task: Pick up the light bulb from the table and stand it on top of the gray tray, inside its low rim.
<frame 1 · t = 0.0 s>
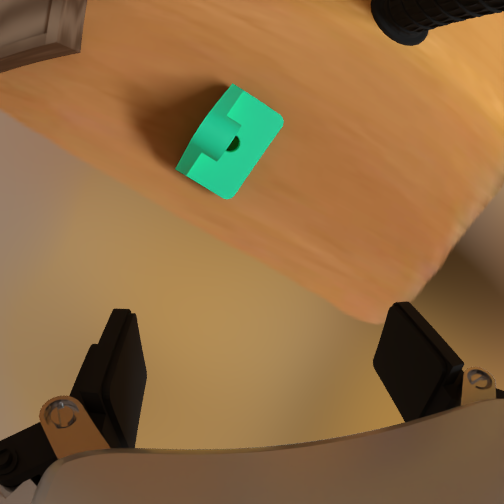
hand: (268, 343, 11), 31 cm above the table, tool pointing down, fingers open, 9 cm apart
handle grip: (400, 15, 32), on the table
camera mount: (229, 141, 38), on the table
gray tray: (42, 17, 27), on the table
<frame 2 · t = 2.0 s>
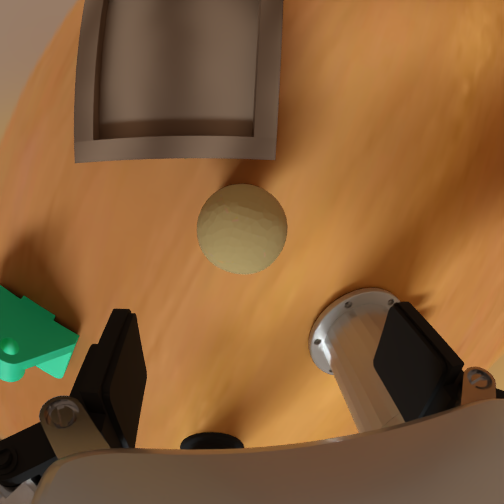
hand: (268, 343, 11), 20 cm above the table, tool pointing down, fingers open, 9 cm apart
handle grip: (212, 448, 43), on the table
camera mount: (35, 325, 32), on the table
light bulb: (235, 204, 30), on the table
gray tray: (184, 73, 24), on the table
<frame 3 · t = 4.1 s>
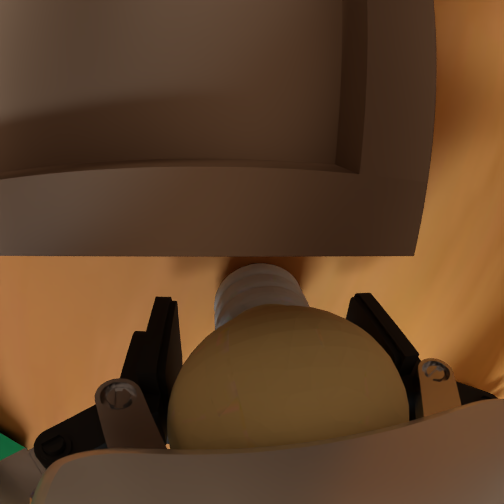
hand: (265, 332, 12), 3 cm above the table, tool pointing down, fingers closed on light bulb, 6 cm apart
light bulb: (256, 293, 14), on the table, touching gripper
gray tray: (141, 10, 9), on the table
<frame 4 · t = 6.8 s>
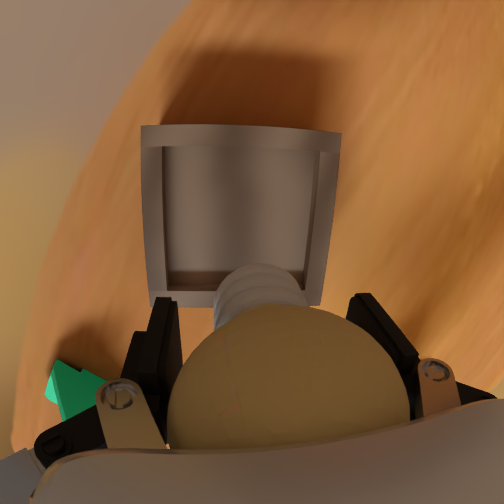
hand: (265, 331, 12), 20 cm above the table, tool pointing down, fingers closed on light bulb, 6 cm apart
camera mount: (91, 389, 38), on the table
light bulb: (255, 293, 14), point 17 cm above the table, touching gripper
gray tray: (234, 200, 30), on the table
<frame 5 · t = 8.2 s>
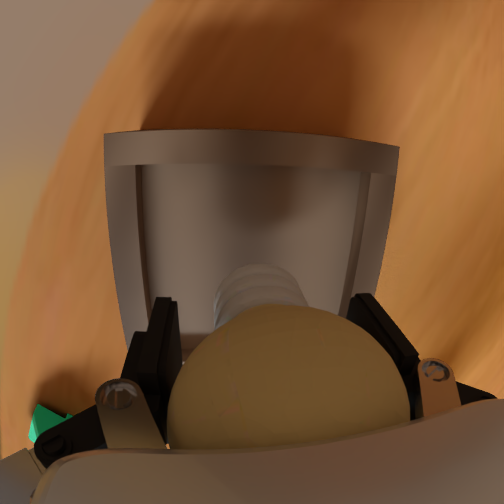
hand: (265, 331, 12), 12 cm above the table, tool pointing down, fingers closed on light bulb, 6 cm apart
camera mount: (79, 433, 30), on the table
light bulb: (255, 293, 14), point 9 cm above the table, touching gripper
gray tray: (241, 230, 23), on the table
when the fingers open (10 cm above the table, at t = 9.5 s): light bulb drops 1 cm, resting on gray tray.
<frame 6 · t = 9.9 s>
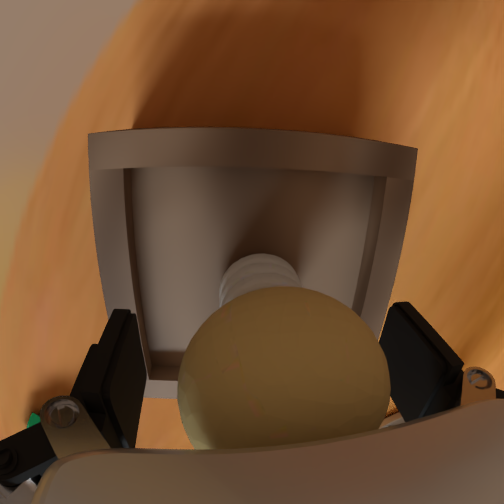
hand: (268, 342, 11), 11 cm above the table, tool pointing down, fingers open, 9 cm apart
light bulb: (257, 282, 16), point 6 cm above the table, touching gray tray
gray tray: (242, 237, 21), on the table
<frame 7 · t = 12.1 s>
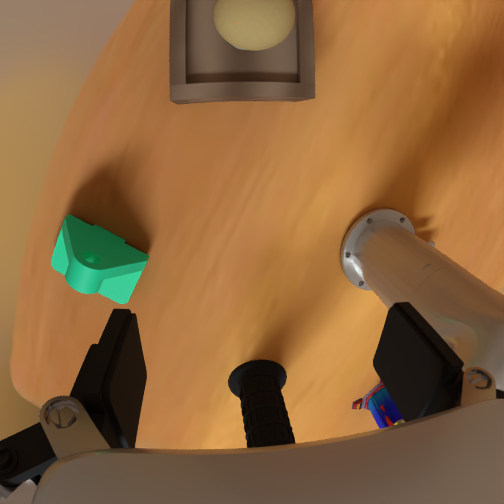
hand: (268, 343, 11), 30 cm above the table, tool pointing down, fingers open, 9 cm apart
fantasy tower: (382, 395, 60), on the table
handle grip: (257, 380, 52), on the table
camera mount: (101, 255, 40), on the table
light bulb: (244, 35, 27), point 6 cm above the table, touching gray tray
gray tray: (236, 46, 32), on the table
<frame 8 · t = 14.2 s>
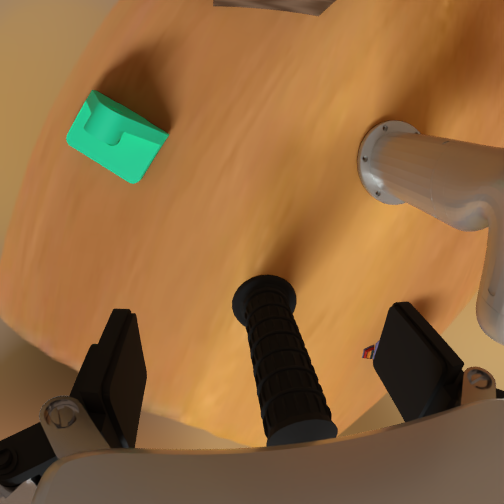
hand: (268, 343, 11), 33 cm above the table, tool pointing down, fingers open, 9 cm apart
handle grip: (264, 303, 50), on the table
camera mount: (118, 136, 38), on the table
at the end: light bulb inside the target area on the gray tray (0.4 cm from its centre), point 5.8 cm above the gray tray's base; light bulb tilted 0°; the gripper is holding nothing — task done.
